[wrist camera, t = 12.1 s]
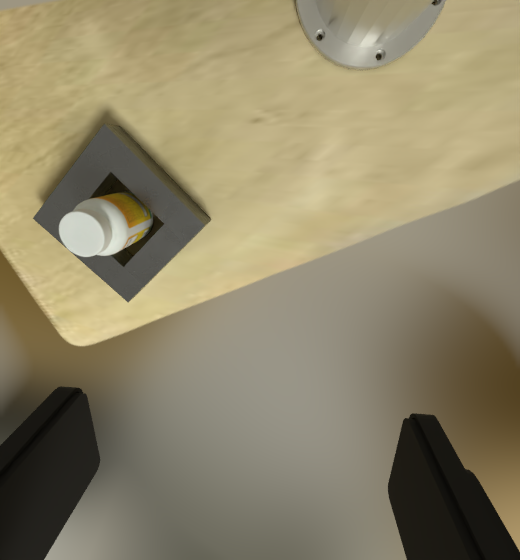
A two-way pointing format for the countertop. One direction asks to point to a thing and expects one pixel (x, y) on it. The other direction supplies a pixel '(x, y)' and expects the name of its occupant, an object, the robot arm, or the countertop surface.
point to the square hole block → (146, 187)
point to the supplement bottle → (105, 224)
